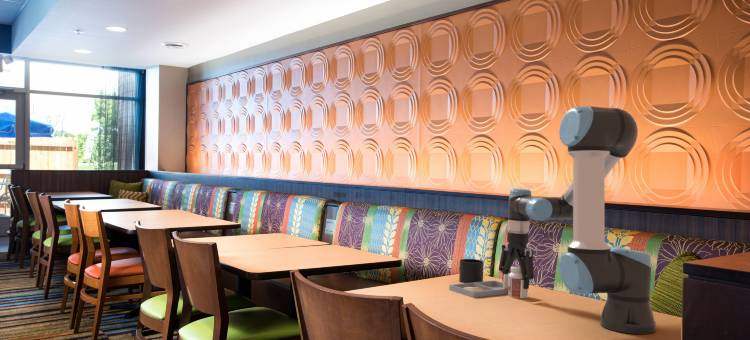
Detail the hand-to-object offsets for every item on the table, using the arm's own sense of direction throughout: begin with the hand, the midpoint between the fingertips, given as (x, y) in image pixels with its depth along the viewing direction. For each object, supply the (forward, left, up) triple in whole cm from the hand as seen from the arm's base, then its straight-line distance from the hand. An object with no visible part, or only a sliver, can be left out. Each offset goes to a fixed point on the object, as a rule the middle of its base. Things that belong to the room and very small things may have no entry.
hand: (514, 294), depth 211 cm
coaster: (+11, +10, 0) cm, 15 cm away
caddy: (+11, +5, -1) cm, 12 cm away
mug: (+29, -2, -1) cm, 29 cm away
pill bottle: (-1, 0, -1) cm, 2 cm away
